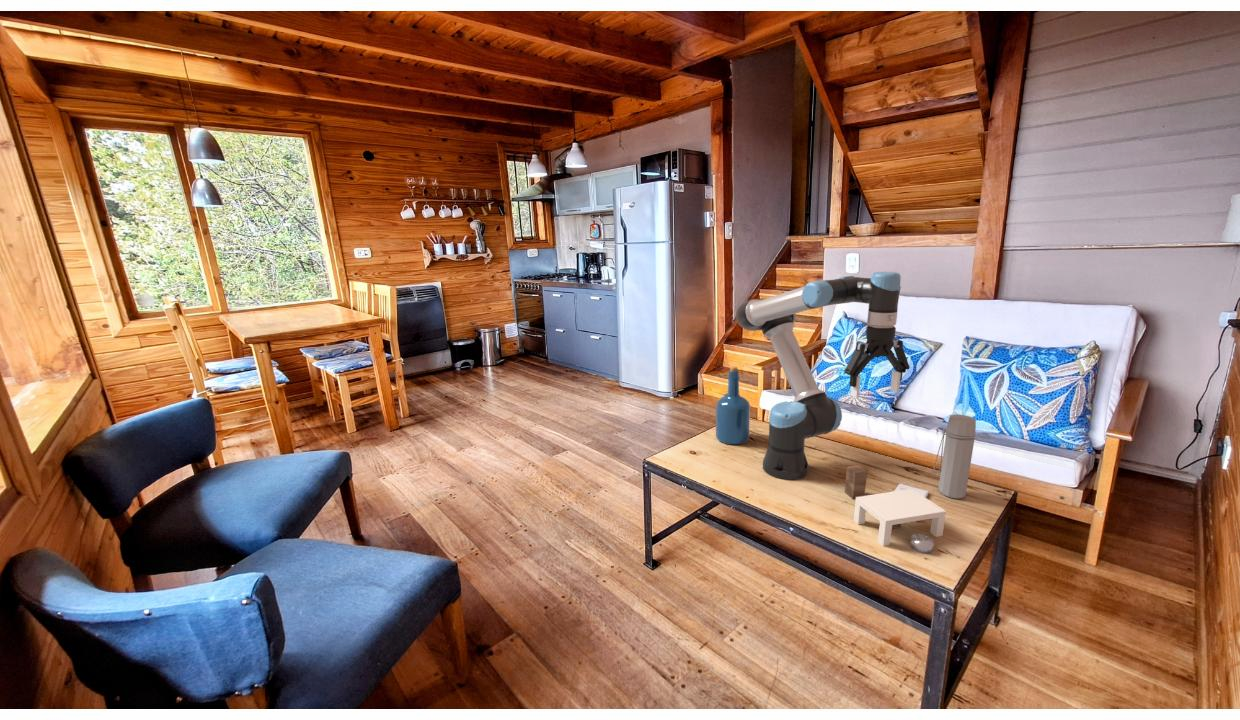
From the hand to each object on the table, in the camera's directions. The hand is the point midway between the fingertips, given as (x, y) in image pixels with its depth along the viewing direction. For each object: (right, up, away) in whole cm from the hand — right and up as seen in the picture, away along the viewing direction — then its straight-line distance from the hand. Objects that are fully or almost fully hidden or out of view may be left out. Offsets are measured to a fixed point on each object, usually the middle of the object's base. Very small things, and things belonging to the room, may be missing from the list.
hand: (874, 394), depth 148 cm
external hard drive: (+11, -33, +1) cm, 35 cm away
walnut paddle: (-3, -34, -3) cm, 34 cm away
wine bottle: (-32, -22, +49) cm, 62 cm away
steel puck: (+1, -39, -21) cm, 44 cm away
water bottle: (+25, -31, +3) cm, 40 cm away
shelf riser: (-1, -36, -13) cm, 38 cm away
